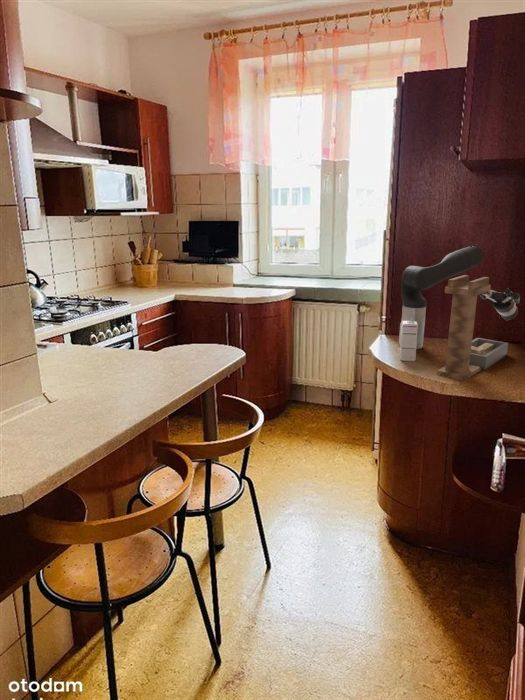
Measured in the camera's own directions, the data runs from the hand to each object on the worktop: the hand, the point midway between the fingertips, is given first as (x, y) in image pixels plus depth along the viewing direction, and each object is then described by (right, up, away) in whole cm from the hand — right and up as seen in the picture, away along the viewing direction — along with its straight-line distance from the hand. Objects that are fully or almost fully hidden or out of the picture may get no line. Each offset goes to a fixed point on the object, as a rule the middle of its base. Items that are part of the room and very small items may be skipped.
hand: (495, 288), depth 192 cm
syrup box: (-32, -27, +4) cm, 42 cm away
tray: (-5, -27, +3) cm, 27 cm away
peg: (-4, -25, +4) cm, 26 cm away
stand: (-18, -31, -12) cm, 38 cm away
